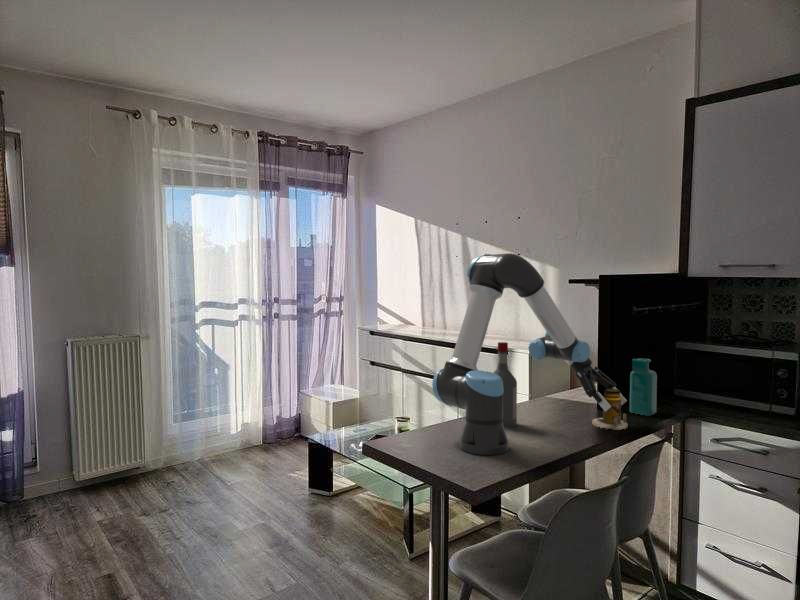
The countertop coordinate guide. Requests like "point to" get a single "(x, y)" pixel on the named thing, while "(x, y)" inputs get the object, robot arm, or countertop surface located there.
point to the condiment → (611, 408)
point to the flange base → (613, 427)
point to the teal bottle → (643, 388)
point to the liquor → (507, 387)
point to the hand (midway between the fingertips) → (616, 406)
